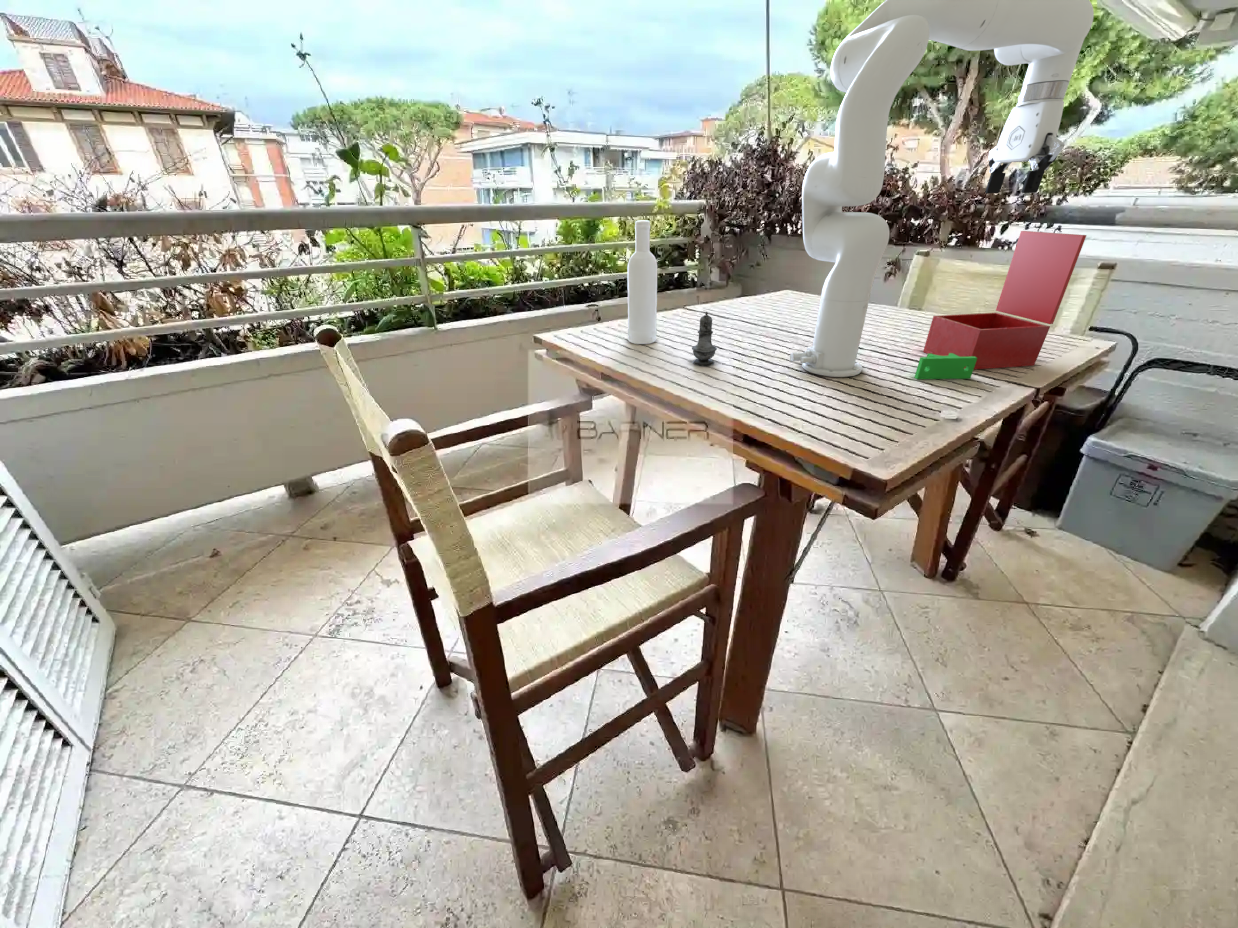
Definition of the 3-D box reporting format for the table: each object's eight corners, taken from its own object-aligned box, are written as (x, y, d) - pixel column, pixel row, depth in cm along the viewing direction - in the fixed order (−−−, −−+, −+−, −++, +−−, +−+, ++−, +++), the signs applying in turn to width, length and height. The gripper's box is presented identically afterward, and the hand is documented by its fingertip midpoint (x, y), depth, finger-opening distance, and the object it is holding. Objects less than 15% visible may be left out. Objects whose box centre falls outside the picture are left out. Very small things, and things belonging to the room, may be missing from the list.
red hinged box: (967, 370, 107) (980, 330, 103) (922, 351, 120) (933, 315, 116) (1034, 365, 109) (1050, 326, 105) (983, 348, 122) (996, 312, 117)
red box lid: (1083, 235, 96) (1106, 233, 96) (1020, 231, 109) (1041, 229, 109) (1049, 324, 104) (1071, 322, 105) (995, 310, 117) (1014, 309, 118)
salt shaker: (688, 365, 114) (690, 313, 109) (694, 358, 119) (697, 308, 113) (712, 367, 112) (716, 315, 107) (718, 360, 117) (722, 309, 111)
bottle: (622, 341, 134) (620, 221, 120) (639, 335, 140) (639, 219, 125) (644, 346, 130) (645, 221, 115) (662, 339, 135) (664, 220, 120)
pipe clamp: (959, 373, 106) (966, 352, 104) (970, 379, 102) (977, 358, 100) (908, 373, 106) (914, 353, 104) (916, 379, 103) (923, 358, 100)
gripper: (990, 103, 105) (964, 194, 113) (1064, 88, 90) (1028, 193, 98) (1021, 103, 106) (993, 193, 114) (1100, 88, 91) (1061, 192, 99)
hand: (1009, 193), depth 106 cm, fingers open, 9 cm apart
